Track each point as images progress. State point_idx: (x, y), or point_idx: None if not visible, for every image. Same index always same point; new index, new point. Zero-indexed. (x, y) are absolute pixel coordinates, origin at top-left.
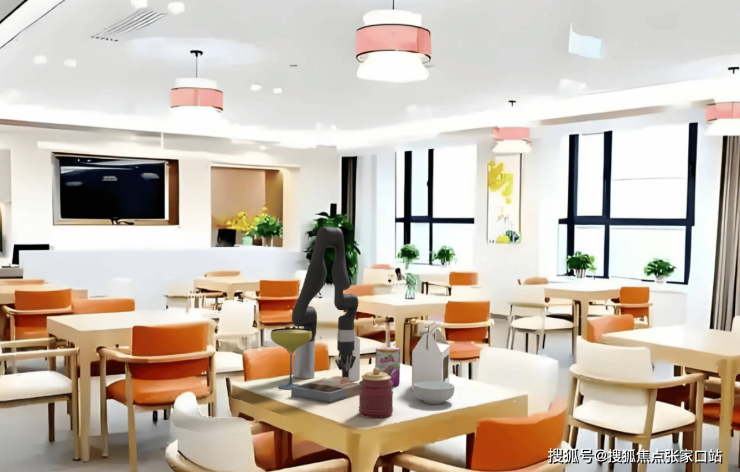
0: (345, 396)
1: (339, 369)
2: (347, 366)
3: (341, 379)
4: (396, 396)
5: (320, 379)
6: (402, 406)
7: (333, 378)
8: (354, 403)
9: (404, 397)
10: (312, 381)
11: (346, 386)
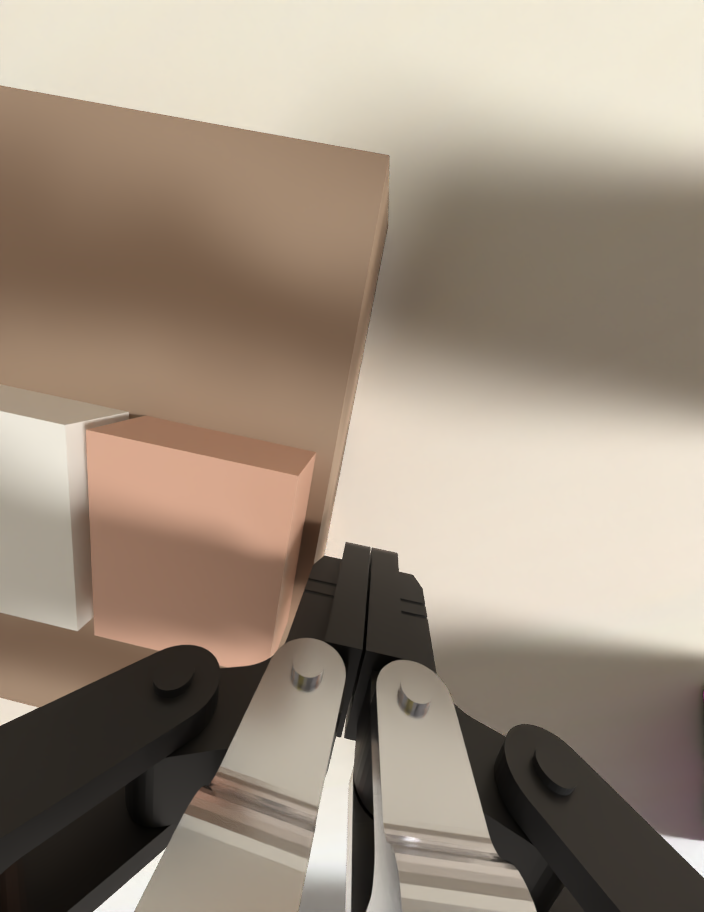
0: None
1: (164, 654)
2: (352, 878)
3: (100, 632)
4: (326, 864)
5: (236, 141)
6: (125, 905)
7: (64, 512)
8: (5, 706)
9: (324, 898)
10: (5, 92)
11: (74, 672)
